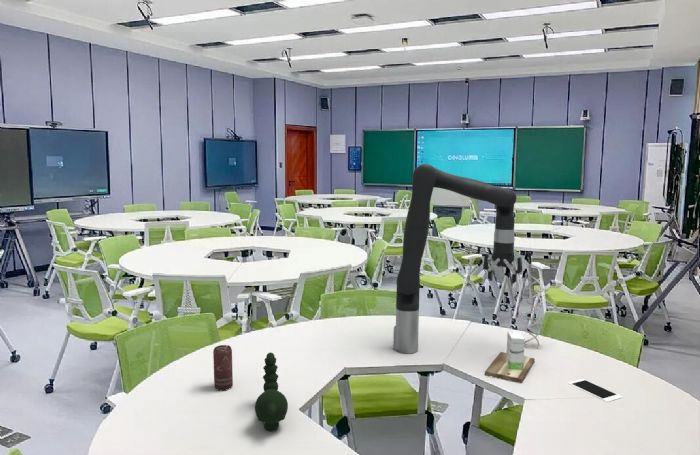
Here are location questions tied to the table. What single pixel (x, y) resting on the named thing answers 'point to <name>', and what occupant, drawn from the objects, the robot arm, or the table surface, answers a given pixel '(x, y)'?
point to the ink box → (515, 350)
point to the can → (223, 367)
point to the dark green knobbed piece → (271, 397)
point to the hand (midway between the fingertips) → (501, 282)
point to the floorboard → (503, 370)
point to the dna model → (534, 310)
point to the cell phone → (595, 390)
